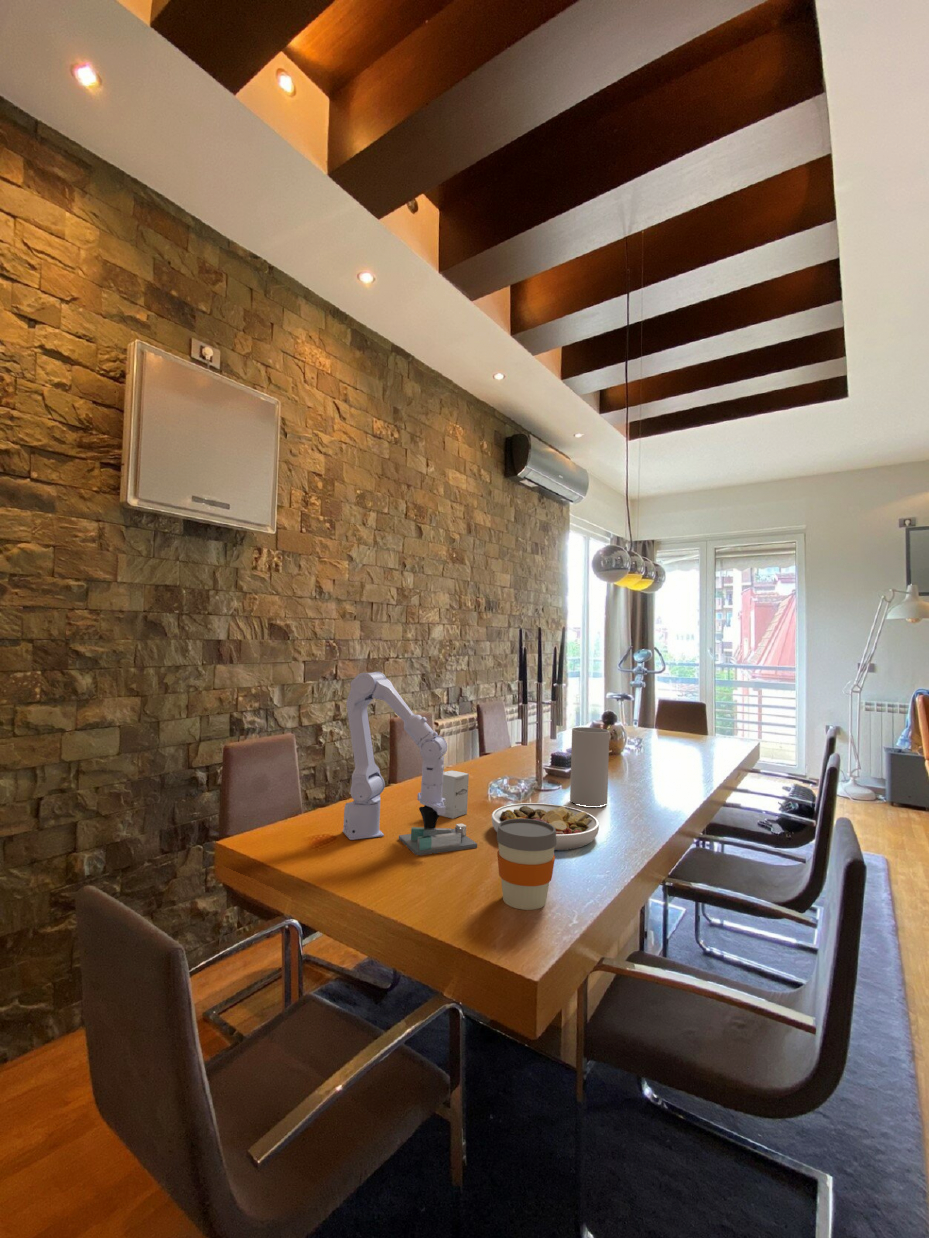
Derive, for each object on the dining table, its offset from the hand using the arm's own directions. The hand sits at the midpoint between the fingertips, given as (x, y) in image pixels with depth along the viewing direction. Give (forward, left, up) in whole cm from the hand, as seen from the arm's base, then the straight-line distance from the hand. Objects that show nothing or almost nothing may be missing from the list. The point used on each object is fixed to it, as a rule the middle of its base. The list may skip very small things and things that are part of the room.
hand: (429, 834), depth 153 cm
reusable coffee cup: (+5, -39, -2) cm, 39 cm away
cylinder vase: (+66, +17, -2) cm, 69 cm away
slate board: (+2, -1, -2) cm, 3 cm away
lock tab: (+9, 0, -1) cm, 9 cm away
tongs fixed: (+1, -5, -1) cm, 6 cm away
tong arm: (0, -2, -1) cm, 2 cm away
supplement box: (+16, +21, -2) cm, 27 cm away
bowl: (+33, -5, -3) cm, 34 cm away
